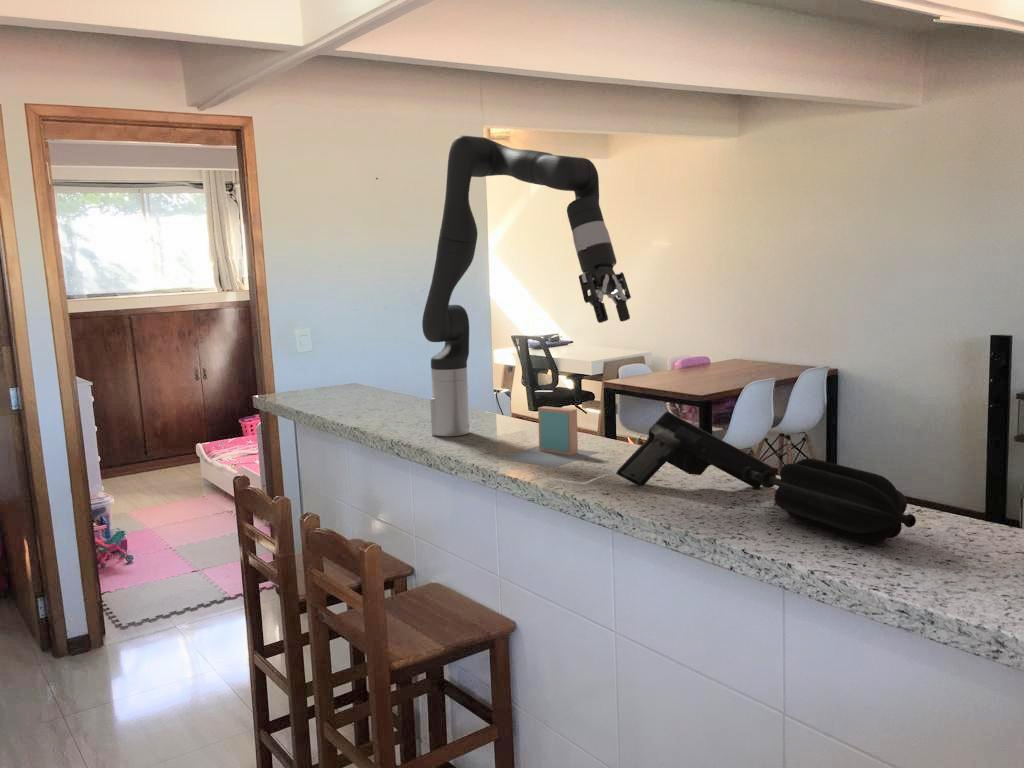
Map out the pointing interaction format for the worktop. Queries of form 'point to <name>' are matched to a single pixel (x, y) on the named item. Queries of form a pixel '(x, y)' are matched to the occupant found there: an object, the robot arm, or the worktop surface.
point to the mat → (545, 457)
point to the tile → (558, 430)
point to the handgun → (686, 453)
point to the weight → (838, 499)
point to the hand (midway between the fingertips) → (614, 321)
